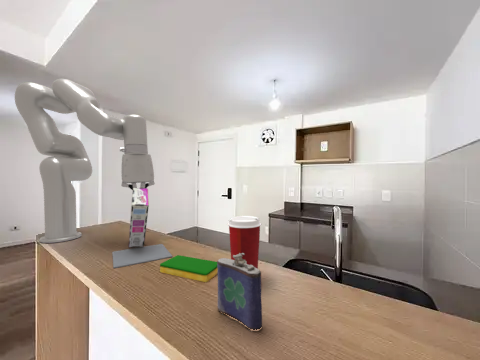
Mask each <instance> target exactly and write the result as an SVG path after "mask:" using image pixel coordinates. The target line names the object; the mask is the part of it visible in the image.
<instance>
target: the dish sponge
mask: <svg viewBox="0 0 480 360" xmlns="http://www.w3.org/2000/svg"><path fill="white" fill-rule="evenodd" d="M159 273H163V274H167V275H171V276H176V277H180V278H185V279H188V280H189V279H190V280H194V281H197V282H203V283H208V282H209V281H210V280H212V279H213V278H214V277H215V276H216V275H218V268H217V261H215V260H208V259H203V258H197V257H191V256H185V255H182V254H181V255H180V254H177V255H175V256H172V257H170V258H168V259H166V260H165V261H163V262H161V263H159Z"/></svg>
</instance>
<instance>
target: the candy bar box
mask: <svg viewBox="0 0 480 360" xmlns="http://www.w3.org/2000/svg"><path fill="white" fill-rule="evenodd" d="M149 207H150V205H149V188H148V187H147V188H140V187H137V188H133V190H132V195H131V206H130V219H129V220H130V221H129V232H128V235H129V237H128V249H132V248H138V247H145V243H146V242H145V239H146V233H147V232H146V231H147V225H148V224H147V223H148V217H149V216H148V215H149Z"/></svg>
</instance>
